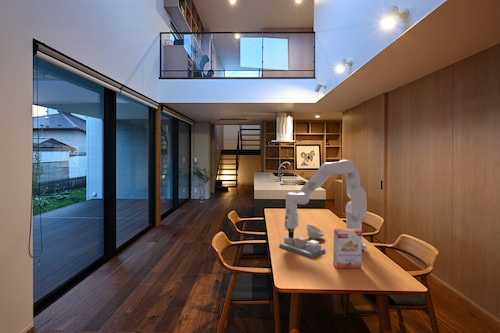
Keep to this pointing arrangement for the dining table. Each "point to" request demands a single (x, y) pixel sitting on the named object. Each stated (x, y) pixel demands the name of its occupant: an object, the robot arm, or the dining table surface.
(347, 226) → the robot arm
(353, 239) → the cracker box
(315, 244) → the cream button
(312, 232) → the bowl
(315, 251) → the button board
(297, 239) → the terracotta button
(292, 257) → the dining table surface
